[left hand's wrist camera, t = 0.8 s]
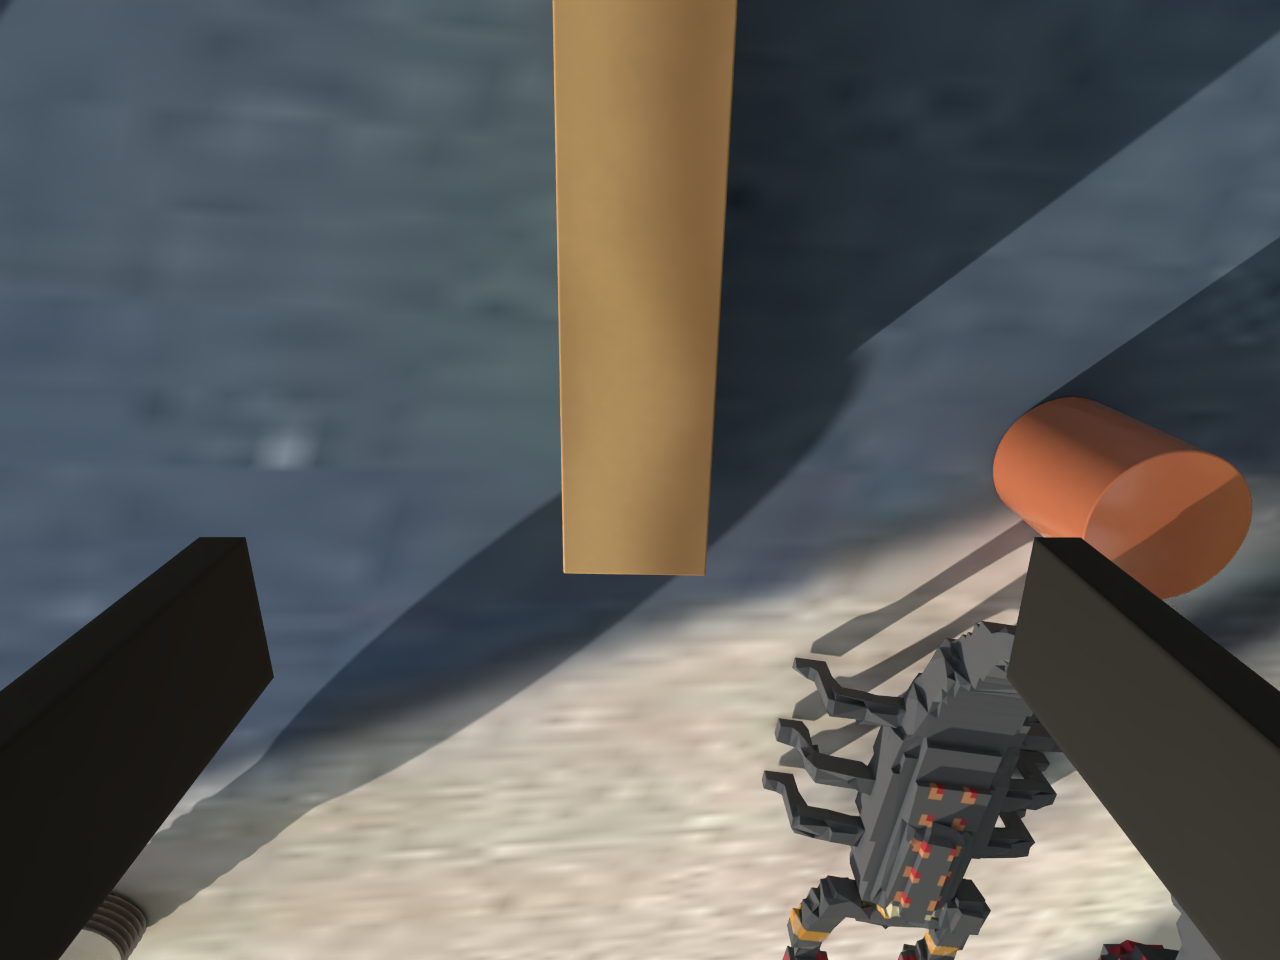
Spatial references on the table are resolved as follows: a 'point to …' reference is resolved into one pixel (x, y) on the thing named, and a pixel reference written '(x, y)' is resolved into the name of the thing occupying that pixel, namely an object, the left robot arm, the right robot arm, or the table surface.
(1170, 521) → the orange glossy cylinder
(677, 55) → the oak bar
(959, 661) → the toy
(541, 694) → the table surface
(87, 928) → the light bulb
